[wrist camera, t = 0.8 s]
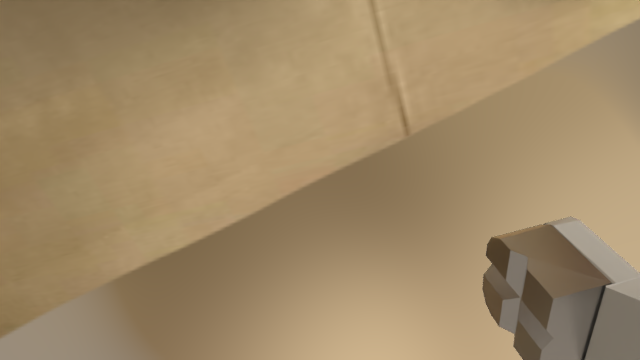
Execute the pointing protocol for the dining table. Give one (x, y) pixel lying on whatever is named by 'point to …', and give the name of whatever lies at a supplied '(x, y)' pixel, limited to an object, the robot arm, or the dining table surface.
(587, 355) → the robot arm
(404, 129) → the dining table surface
